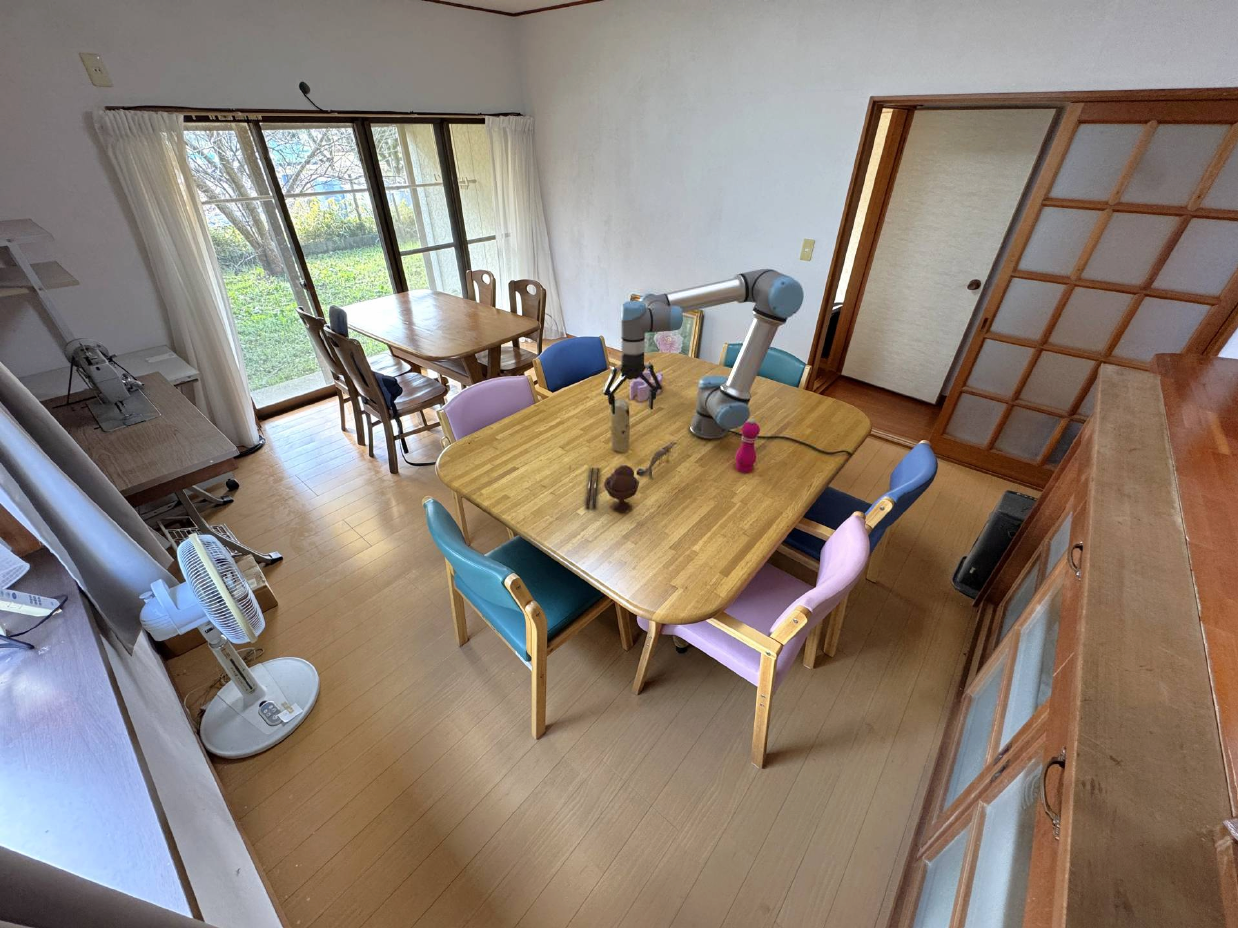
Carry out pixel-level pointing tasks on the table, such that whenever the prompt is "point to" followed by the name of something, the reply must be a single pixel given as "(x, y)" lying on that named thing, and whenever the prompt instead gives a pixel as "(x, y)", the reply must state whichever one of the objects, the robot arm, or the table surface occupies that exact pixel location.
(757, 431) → the pepper mill
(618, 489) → the ice cream bowl
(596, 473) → the chopsticks
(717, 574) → the table surface
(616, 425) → the food model
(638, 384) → the clip
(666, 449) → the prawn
